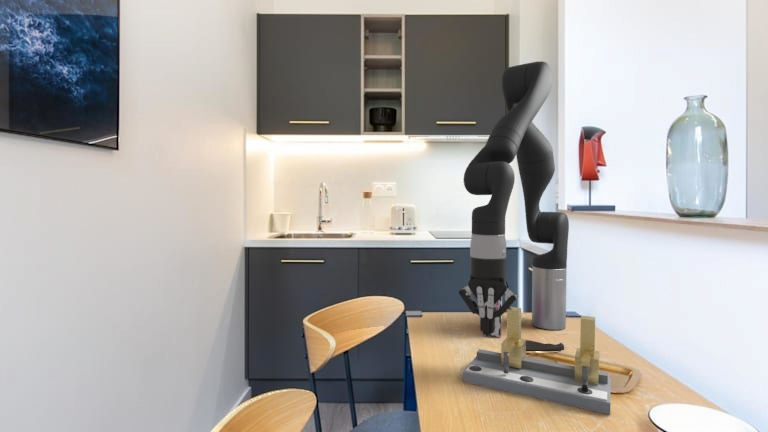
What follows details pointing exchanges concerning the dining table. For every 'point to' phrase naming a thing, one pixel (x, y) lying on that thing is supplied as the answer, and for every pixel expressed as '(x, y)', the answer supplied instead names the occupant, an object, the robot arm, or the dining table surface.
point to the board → (539, 381)
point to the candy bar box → (497, 322)
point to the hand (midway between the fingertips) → (487, 334)
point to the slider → (513, 341)
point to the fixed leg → (587, 355)
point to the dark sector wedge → (543, 346)
